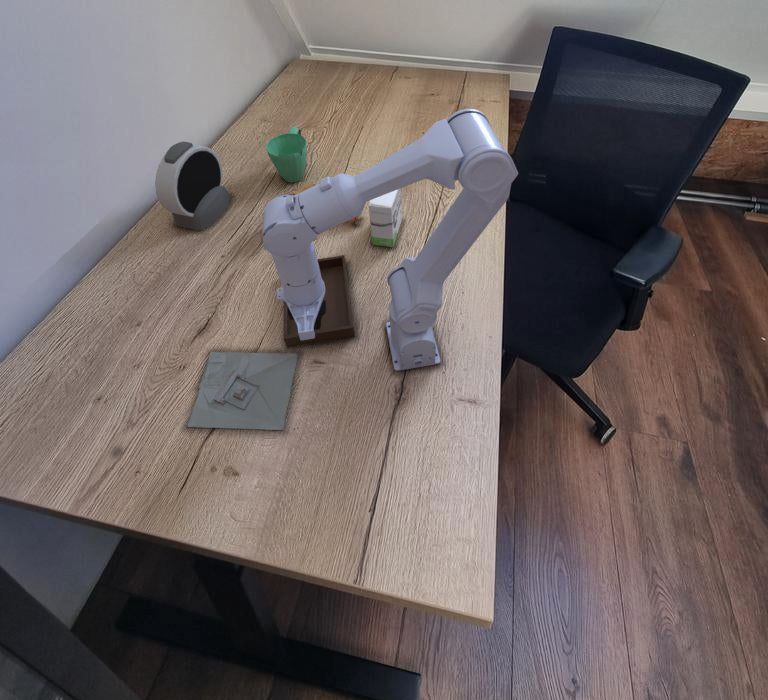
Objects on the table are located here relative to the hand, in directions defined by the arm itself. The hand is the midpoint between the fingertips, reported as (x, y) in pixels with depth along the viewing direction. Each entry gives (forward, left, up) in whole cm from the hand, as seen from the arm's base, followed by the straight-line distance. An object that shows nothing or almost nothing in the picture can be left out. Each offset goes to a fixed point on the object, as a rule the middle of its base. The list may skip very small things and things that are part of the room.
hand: (313, 324), depth 73 cm
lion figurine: (+36, +2, -9) cm, 37 cm away
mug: (+54, +4, -10) cm, 55 cm away
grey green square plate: (-5, +18, -10) cm, 21 cm away
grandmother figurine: (+31, -11, -8) cm, 34 cm away
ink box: (+27, -16, -10) cm, 33 cm away
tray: (+11, 0, -9) cm, 14 cm away
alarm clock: (+43, +26, -10) cm, 51 cm away
